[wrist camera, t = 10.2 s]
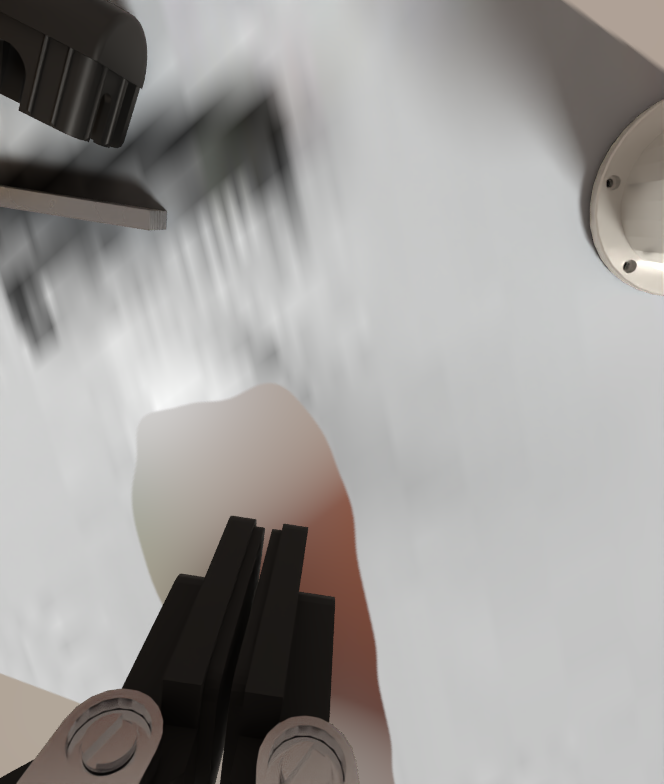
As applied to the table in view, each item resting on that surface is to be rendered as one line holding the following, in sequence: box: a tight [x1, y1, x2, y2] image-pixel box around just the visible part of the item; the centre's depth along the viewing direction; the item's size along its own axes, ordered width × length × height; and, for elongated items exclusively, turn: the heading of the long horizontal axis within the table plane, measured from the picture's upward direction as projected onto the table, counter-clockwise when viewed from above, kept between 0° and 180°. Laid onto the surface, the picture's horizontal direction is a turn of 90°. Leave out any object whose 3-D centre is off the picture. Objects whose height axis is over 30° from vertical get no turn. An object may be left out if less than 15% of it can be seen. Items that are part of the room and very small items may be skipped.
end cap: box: [0, 0, 147, 148], centre depth 28 cm, size 10×7×7 cm
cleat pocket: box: [0, 184, 167, 230], centre depth 30 cm, size 12×18×3 cm, turn 171°
